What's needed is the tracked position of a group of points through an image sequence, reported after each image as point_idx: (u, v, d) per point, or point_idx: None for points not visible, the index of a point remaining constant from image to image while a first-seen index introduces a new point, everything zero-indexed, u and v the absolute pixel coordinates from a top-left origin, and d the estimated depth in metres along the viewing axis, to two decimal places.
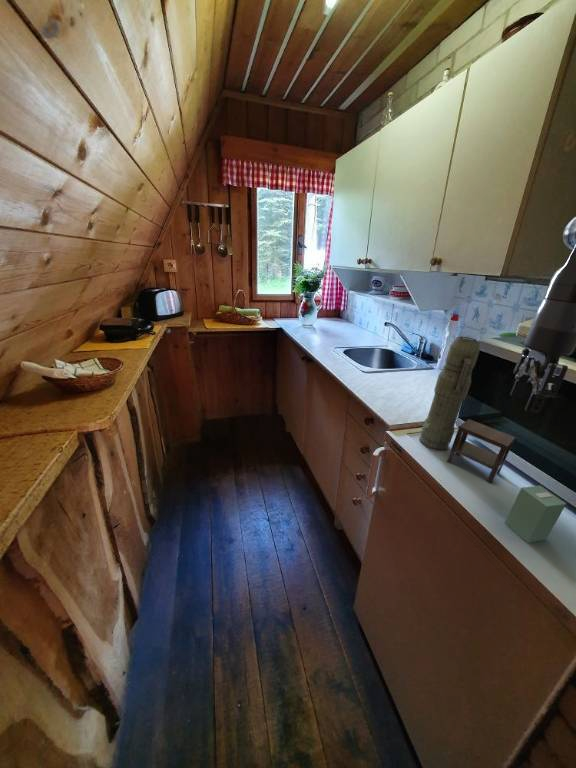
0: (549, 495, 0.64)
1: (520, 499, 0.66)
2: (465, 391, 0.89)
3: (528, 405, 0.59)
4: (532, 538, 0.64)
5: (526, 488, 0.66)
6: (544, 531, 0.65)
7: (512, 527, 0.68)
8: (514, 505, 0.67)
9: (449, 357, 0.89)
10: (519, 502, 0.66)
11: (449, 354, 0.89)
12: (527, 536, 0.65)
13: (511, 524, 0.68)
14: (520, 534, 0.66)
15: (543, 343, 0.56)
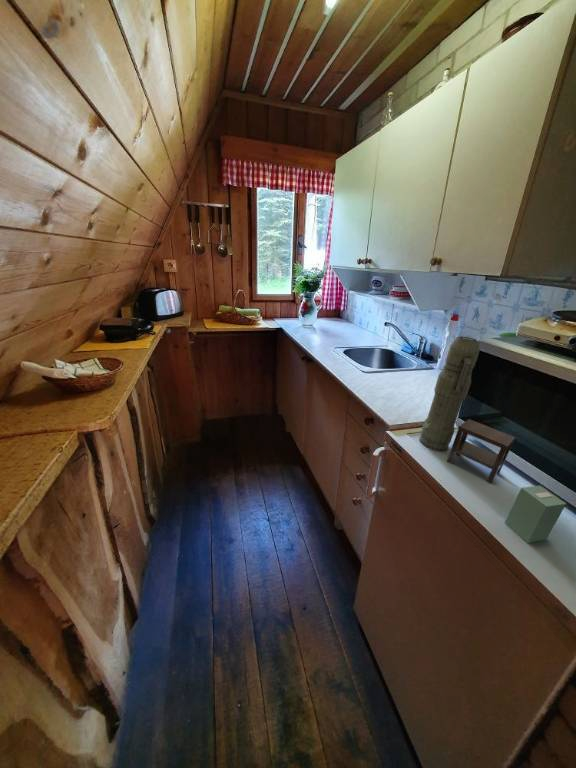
0: (549, 495, 0.64)
1: (520, 499, 0.66)
2: (465, 391, 0.89)
3: None
4: (532, 538, 0.64)
5: (526, 488, 0.66)
6: (544, 531, 0.65)
7: (512, 527, 0.68)
8: (514, 505, 0.67)
9: (449, 357, 0.89)
10: (519, 502, 0.66)
11: (449, 354, 0.89)
12: (527, 536, 0.65)
13: (511, 524, 0.68)
14: (520, 534, 0.66)
15: None
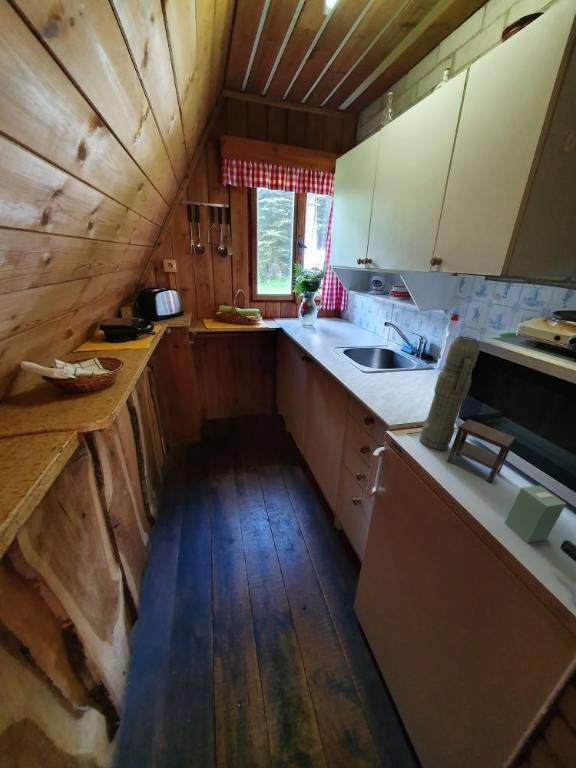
0: (549, 495, 0.64)
1: (520, 499, 0.66)
2: (465, 391, 0.89)
3: None
4: (532, 538, 0.64)
5: (526, 488, 0.66)
6: (544, 531, 0.65)
7: (512, 527, 0.68)
8: (514, 505, 0.67)
9: (449, 357, 0.89)
10: (519, 502, 0.66)
11: (449, 354, 0.89)
12: (527, 536, 0.65)
13: (511, 524, 0.68)
14: (520, 534, 0.66)
15: None
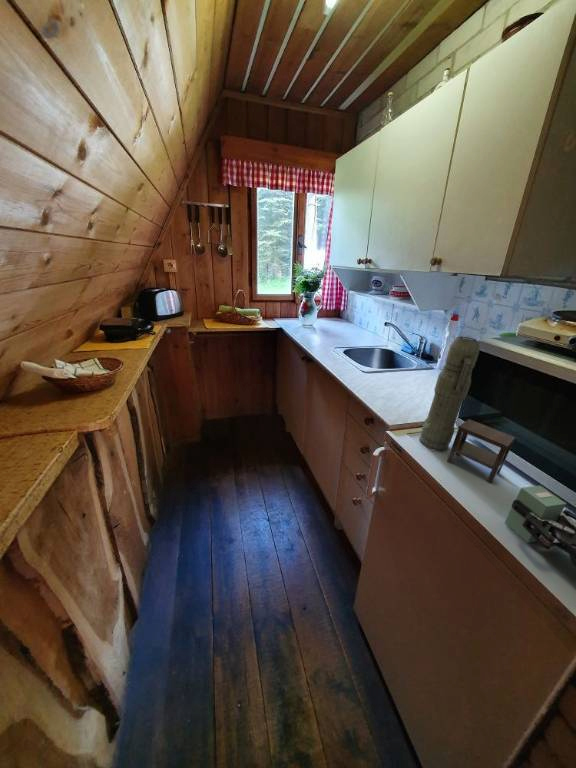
0: (549, 495, 0.64)
1: (520, 499, 0.66)
2: (465, 391, 0.89)
3: None
4: (532, 538, 0.64)
5: (526, 488, 0.66)
6: None
7: (512, 526, 0.68)
8: None
9: (449, 357, 0.89)
10: None
11: (449, 354, 0.89)
12: (527, 536, 0.65)
13: (511, 524, 0.68)
14: (520, 534, 0.66)
15: None
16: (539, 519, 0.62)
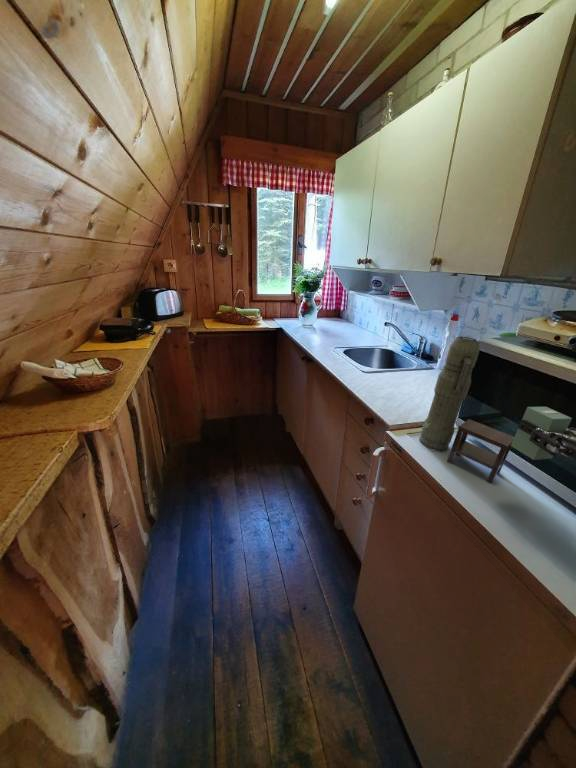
0: (555, 412, 0.65)
1: (526, 418, 0.67)
2: (465, 391, 0.89)
3: None
4: (538, 455, 0.65)
5: (532, 407, 0.67)
6: None
7: (518, 447, 0.69)
8: None
9: (449, 357, 0.89)
10: None
11: (449, 354, 0.89)
12: (533, 453, 0.66)
13: (517, 445, 0.69)
14: (526, 453, 0.67)
15: None
16: (545, 432, 0.62)
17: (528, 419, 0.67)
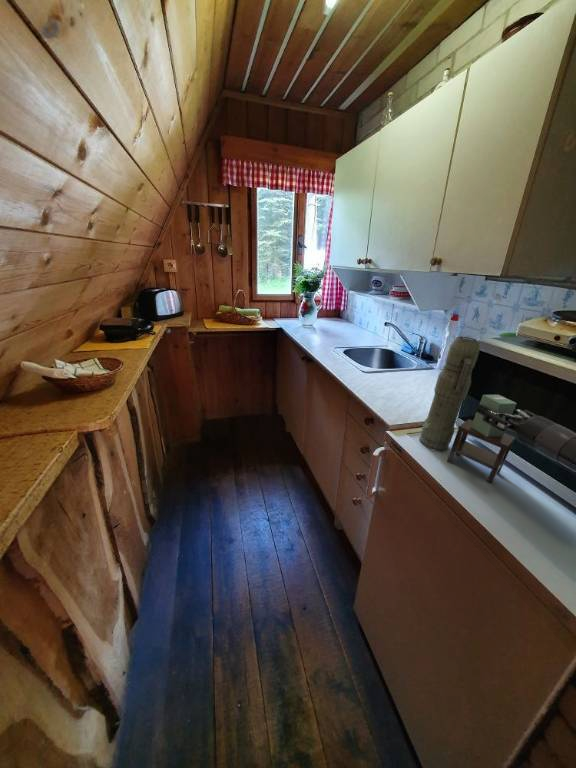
0: (504, 398, 0.81)
1: (482, 404, 0.83)
2: (465, 391, 0.89)
3: None
4: (491, 433, 0.81)
5: (486, 395, 0.83)
6: None
7: (476, 428, 0.85)
8: None
9: (449, 357, 0.89)
10: None
11: (449, 354, 0.89)
12: (486, 432, 0.82)
13: (475, 426, 0.85)
14: (482, 432, 0.83)
15: None
16: (496, 413, 0.77)
17: (483, 404, 0.83)
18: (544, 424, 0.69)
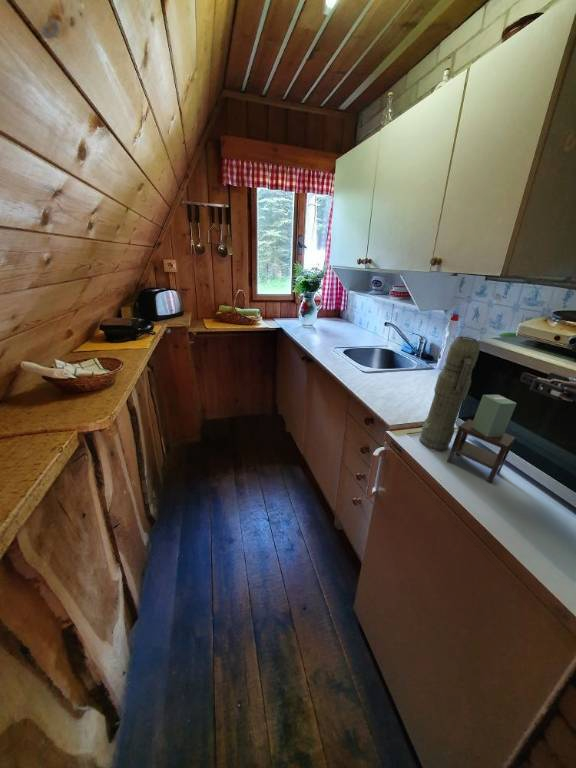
0: (504, 398, 0.81)
1: (482, 404, 0.83)
2: (465, 391, 0.89)
3: None
4: (491, 433, 0.81)
5: (486, 395, 0.83)
6: (500, 427, 0.82)
7: (476, 428, 0.85)
8: (478, 410, 0.84)
9: (449, 357, 0.89)
10: (481, 407, 0.83)
11: (449, 354, 0.89)
12: (486, 432, 0.82)
13: (475, 426, 0.85)
14: (482, 432, 0.83)
15: None
16: (547, 381, 0.66)
17: (483, 404, 0.83)
18: None
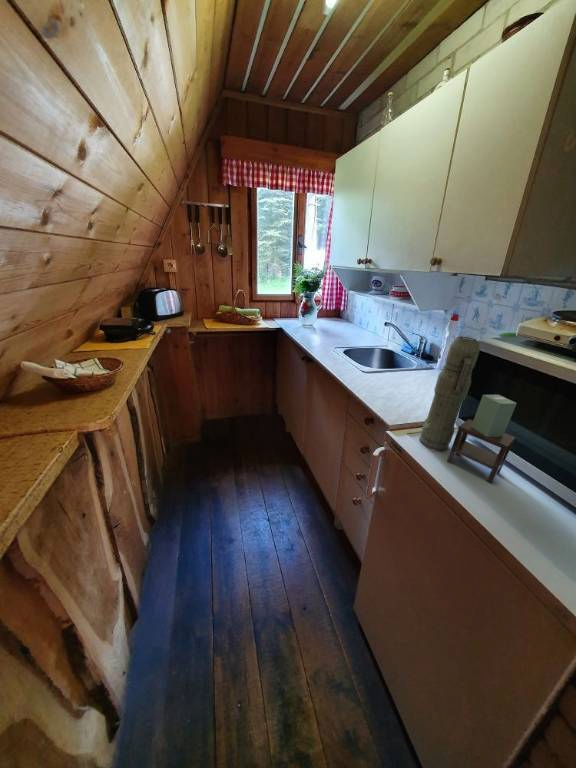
0: (504, 398, 0.81)
1: (482, 404, 0.83)
2: (465, 391, 0.89)
3: None
4: (491, 433, 0.81)
5: (486, 395, 0.83)
6: (500, 427, 0.82)
7: (476, 428, 0.85)
8: (478, 410, 0.84)
9: (449, 357, 0.89)
10: (481, 407, 0.83)
11: (449, 354, 0.89)
12: (486, 432, 0.82)
13: (475, 426, 0.85)
14: (482, 432, 0.83)
15: None
16: None
17: (483, 404, 0.83)
18: None
